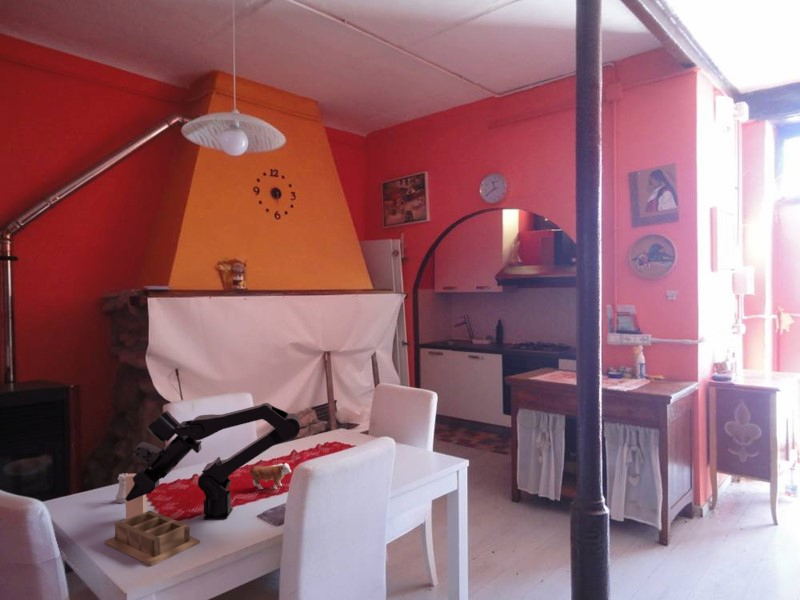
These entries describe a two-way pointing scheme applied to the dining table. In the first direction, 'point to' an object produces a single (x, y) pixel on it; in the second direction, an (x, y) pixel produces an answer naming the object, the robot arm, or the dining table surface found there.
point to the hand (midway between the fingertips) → (133, 493)
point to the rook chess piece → (121, 489)
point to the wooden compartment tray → (151, 537)
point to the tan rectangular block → (134, 500)
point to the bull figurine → (269, 473)
